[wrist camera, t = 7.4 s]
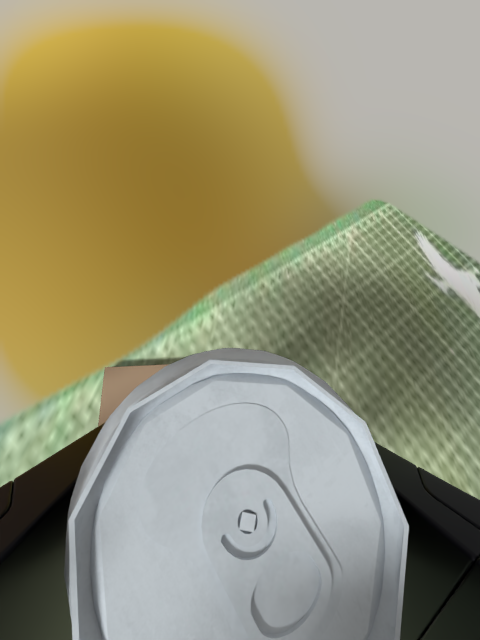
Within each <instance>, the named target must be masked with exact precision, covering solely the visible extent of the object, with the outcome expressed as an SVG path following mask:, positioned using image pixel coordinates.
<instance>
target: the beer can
mask: <svg viewBox="0 0 480 640" xmlns="http://www.w3.org/2000/svg"><path fill="white" fill-rule="evenodd" d="M408 532H409V525H408V523H407V520H406V518H405V515H404V513H403V511H402V508H401V506H400V503H399V501H398V498H397V496H396V494H395V491H394V489H393V486H392V484H391V482H390V479H389V477H388V474H387V472H386V469H385V467H384V465H383V462H382V460H381V457H380V455H379V453H378V450H377V448H376V445H375V443H374V440H373V438H372V436H371V433H370V431H369V428H368V426H367V424H366V422H365V421H364V420H362V419H361V418H360V417H359V416H357V415H356V414H355V413H354V412H353V410H352V409H351V408H350V407H349V406H348V405H347V404H346V403H345V402H344V401H343V400H342V399H341V398H340V397H339V396H338V394H337V393H336V392H335V391H334V390H333V389H332V388H331V387H330V386H329V385H328V384H327V383H326V382H325V381H324V380H322V379H321V378H319V377H318V376H316V375H315V374H313V373H312V372H310V371H309V370H307V369H306V368H304V367H302V366H301V365H299V364H297V363H296V362H294V361H292V360H290V359H287V358H285V357H282V356H279V355H276V354H272V353H269V352H266V351H261V350H250V349H240V348H222V349H216V350H211V351H205V352H201V353H197V354H193V355H190V356H187V357H185V358H183V359H181V360H178V361H176V362H174V363H172V364H170V365H167V366H165V367H164V368H162V369H161V370H159V371H158V372H157V373H155V374H154V375H152V376H151V377H150V378H148V379H147V380H145V381H144V382H143V383H141V384H140V385H138V386H137V387H136V388H135V389H134V390H133V391H132V392H131V393H130V394H129V395H128V396H127V397H126V398H125V399H124V400H123V402H122V403H121V404H120V405H119V406H118V407H117V408H116V409H115V411H114V412H113V413H112V414H111V415H110V416H109V418H108V419H107V421H106V423H105V424H104V426H103V427H102V429H101V431H100V433H99V434H98V436H97V438H96V440H95V442H94V444H93V446H92V447H91V449H90V451H89V453H88V455H87V457H86V459H85V460H84V462H83V464H82V466H81V469H80V472H79V475H78V478H77V481H76V485H75V488H74V491H73V494H72V497H71V501H70V506H69V511H68V520H67V532H66V547H65V567H64V578H65V584H66V589H67V595H68V600H69V607H70V616H71V621H72V640H400V631H401V619H402V606H403V594H404V581H405V569H406V557H407V544H408Z"/></svg>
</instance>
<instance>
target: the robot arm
mask: <svg viewBox="0 0 480 640" xmlns="http://www.w3.org/2000/svg"><path fill="white" fill-rule="evenodd" d="M105 423H106V422H105ZM105 423H103V424H102V425H100V426H98V427H97V428H95V429H94V430H92V431H90V432H89V433H87V434H86V435H84V436H82V437H81V438H79V439H78V440H76V441H74V442H73V443H71V444H70V445H68V446H66V447H65V448H63V449H62V450H60V451H58V452H57V453H55V454H54V455H52V456H51V457H49V458H47V459H46V460H44V461H43V462H41V463H39V464H38V465H36V466H35V467H33V468H31V469H30V470H28V471H27V472H25V473H23V474H22V475H20V476H19V477H17V478H15V479H14V482H13V481H10V482H8V483H6V484H5V485H3V486H2V487H0V640H72V621H71V616H70V607H69V600H68V595H67V589H66V584H65V578H64V567H65V547H66V532H67V520H68V511H69V506H70V501H71V497H72V494H73V491H74V488H75V485H76V481H77V478H78V475H79V472H80V469H81V466H82V464H83V462H84V460H85V459H86V457H87V455H88V453H89V451H90V449H91V447H92V446H93V444H94V442H95V440H96V438H97V436H98V434H99V433H100V431H101V429H102V427H103V426H104V424H105ZM374 443H375V442H374ZM375 445H376V448H377V450H378V453H379V455H380V457H381V460H382V462H383V465H384V467H385V469H386V472H387V474H388V477H389V479H390V482H391V484H392V486H393V489H394V491H395V494H396V496H397V498H398V501H399V503H400V506H401V508H402V511H403V513H404V515H405V518H406V520H407V523H408V525H409V532H408V544H407V557H406V569H405V581H404V594H403V606H402V619H401V631H400V640H480V500H479V499H477V498H475V497H473V496H471V495H469V494H467V493H465V492H463V491H462V490H460V489H458V488H456V487H454V486H452V485H451V484H449V483H447V482H445V481H443V480H441V479H440V478H438V477H436V476H434V475H432V474H431V473H429V472H427V471H425V470H424V469H422V468H420V467H418V468H417V467H416V465H414V464H412V463H410V462H409V461H407V460H405V459H403V458H402V457H400V456H398V455H396V454H395V453H393V452H391V451H389V450H387V449H386V448H384V447H382V446H380V445H379V444H377V443H375Z"/></svg>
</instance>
